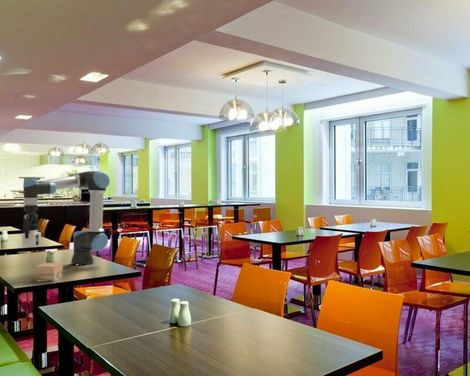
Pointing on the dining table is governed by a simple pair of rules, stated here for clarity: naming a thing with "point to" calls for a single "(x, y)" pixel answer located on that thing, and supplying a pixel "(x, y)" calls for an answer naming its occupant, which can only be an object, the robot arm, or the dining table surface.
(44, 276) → the tower bottom
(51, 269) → the tower top
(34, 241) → the container
